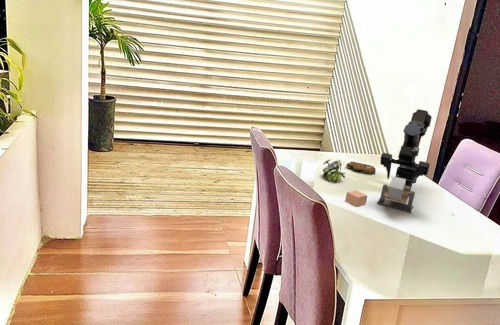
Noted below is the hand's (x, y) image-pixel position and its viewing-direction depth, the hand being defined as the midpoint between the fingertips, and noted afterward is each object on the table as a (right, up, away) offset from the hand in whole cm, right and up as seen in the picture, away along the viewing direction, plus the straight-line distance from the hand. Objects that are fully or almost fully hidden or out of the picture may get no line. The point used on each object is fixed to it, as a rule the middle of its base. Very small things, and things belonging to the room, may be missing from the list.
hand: (399, 181), depth 185 cm
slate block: (0, -5, +2) cm, 6 cm away
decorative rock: (-2, +3, +57) cm, 57 cm away
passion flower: (-20, -1, +37) cm, 42 cm away
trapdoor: (+1, -6, +7) cm, 9 cm away
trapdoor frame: (+2, -11, +11) cm, 16 cm away
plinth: (-15, -9, +10) cm, 20 cm away
